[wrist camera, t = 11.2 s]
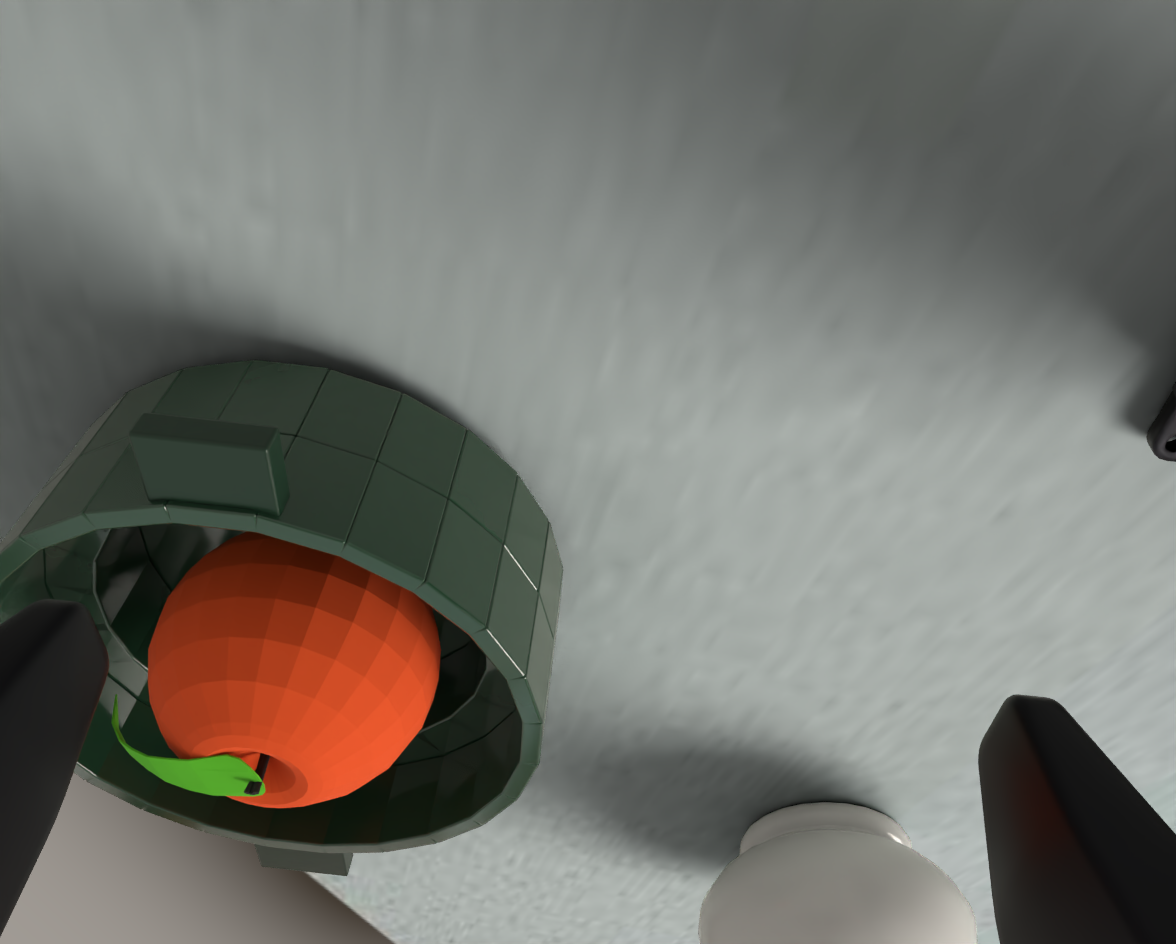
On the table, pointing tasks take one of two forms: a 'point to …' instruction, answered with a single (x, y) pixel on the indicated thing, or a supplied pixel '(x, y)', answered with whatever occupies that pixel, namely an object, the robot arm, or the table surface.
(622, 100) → the table surface
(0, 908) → the robot arm
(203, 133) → the table surface
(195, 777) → the clementine
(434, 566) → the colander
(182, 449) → the colander handles
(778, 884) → the flower vase
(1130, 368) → the table surface
